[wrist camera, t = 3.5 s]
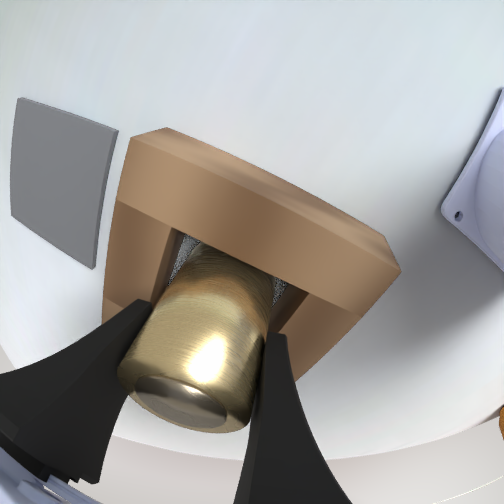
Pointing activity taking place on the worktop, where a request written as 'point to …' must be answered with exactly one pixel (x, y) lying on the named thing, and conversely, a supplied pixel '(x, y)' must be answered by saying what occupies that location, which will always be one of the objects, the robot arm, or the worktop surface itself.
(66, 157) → the mat
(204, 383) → the end cover
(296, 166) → the worktop surface
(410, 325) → the worktop surface
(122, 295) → the housing
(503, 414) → the coffee package
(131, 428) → the worktop surface
